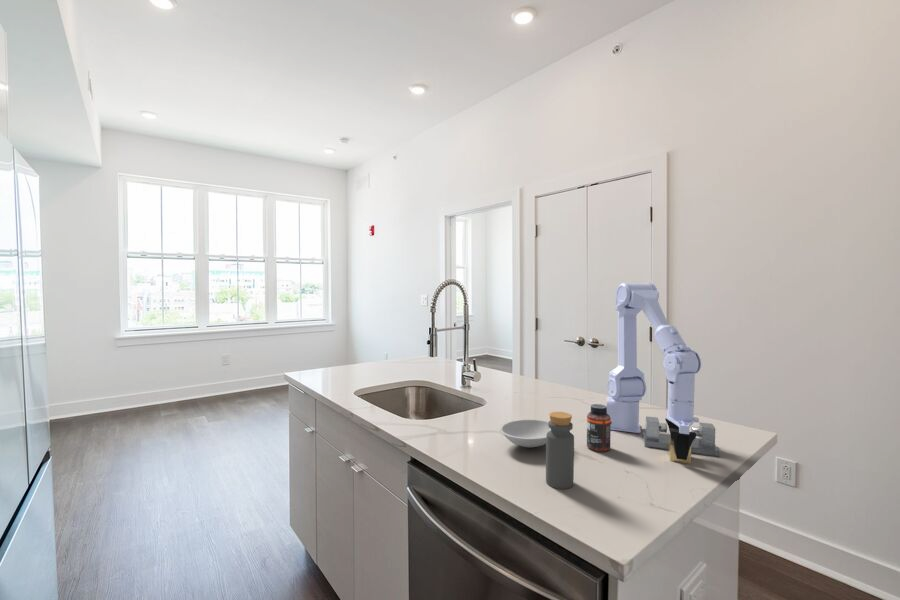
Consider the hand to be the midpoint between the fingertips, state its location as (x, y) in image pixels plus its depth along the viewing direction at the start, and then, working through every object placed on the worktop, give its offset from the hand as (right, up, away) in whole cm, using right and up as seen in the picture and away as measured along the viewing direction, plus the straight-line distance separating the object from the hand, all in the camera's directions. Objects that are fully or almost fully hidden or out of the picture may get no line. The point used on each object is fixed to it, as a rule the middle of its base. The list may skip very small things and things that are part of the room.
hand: (679, 453), depth 104 cm
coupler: (0, -2, 0) cm, 2 cm away
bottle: (-33, -2, -13) cm, 36 cm away
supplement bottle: (-18, -1, +7) cm, 19 cm away
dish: (-36, -1, +7) cm, 37 cm away
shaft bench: (+4, -1, +8) cm, 10 cm away
